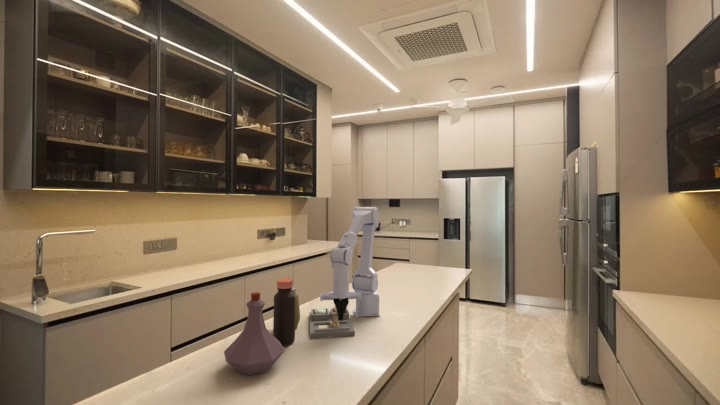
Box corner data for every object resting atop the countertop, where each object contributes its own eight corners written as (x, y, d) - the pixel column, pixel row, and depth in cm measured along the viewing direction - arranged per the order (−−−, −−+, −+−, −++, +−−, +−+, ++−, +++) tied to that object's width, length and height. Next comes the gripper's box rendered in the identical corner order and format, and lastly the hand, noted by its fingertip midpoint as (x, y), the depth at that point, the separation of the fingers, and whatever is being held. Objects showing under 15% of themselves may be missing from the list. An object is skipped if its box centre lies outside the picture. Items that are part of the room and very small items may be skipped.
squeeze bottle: (304, 326, 119) (305, 277, 120) (291, 334, 112) (291, 281, 112) (286, 322, 123) (287, 275, 123) (272, 330, 116) (273, 279, 116)
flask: (262, 348, 101) (263, 283, 101) (297, 364, 91) (298, 292, 91) (210, 368, 88) (211, 294, 89) (243, 390, 78) (245, 306, 78)
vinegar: (268, 344, 103) (269, 281, 104) (281, 336, 110) (281, 277, 110) (287, 348, 101) (288, 283, 101) (298, 339, 108) (299, 279, 108)
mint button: (325, 313, 128) (325, 308, 128) (326, 317, 124) (326, 312, 124) (314, 314, 127) (314, 308, 127) (314, 317, 123) (314, 312, 123)
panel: (346, 314, 133) (346, 305, 133) (354, 335, 111) (354, 325, 111) (309, 316, 131) (309, 307, 131) (310, 338, 109) (310, 327, 109)
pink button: (344, 310, 129) (344, 305, 129) (345, 313, 125) (346, 308, 125) (333, 310, 128) (333, 305, 128) (334, 314, 124) (334, 309, 124)
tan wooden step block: (338, 323, 118) (338, 311, 118) (339, 328, 113) (340, 316, 113) (330, 323, 118) (330, 312, 118) (331, 328, 113) (331, 316, 113)
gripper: (321, 284, 111) (320, 324, 110) (363, 283, 113) (362, 322, 113) (320, 280, 118) (319, 317, 117) (359, 278, 120) (359, 315, 120)
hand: (340, 319), depth 116 cm, fingers closed
